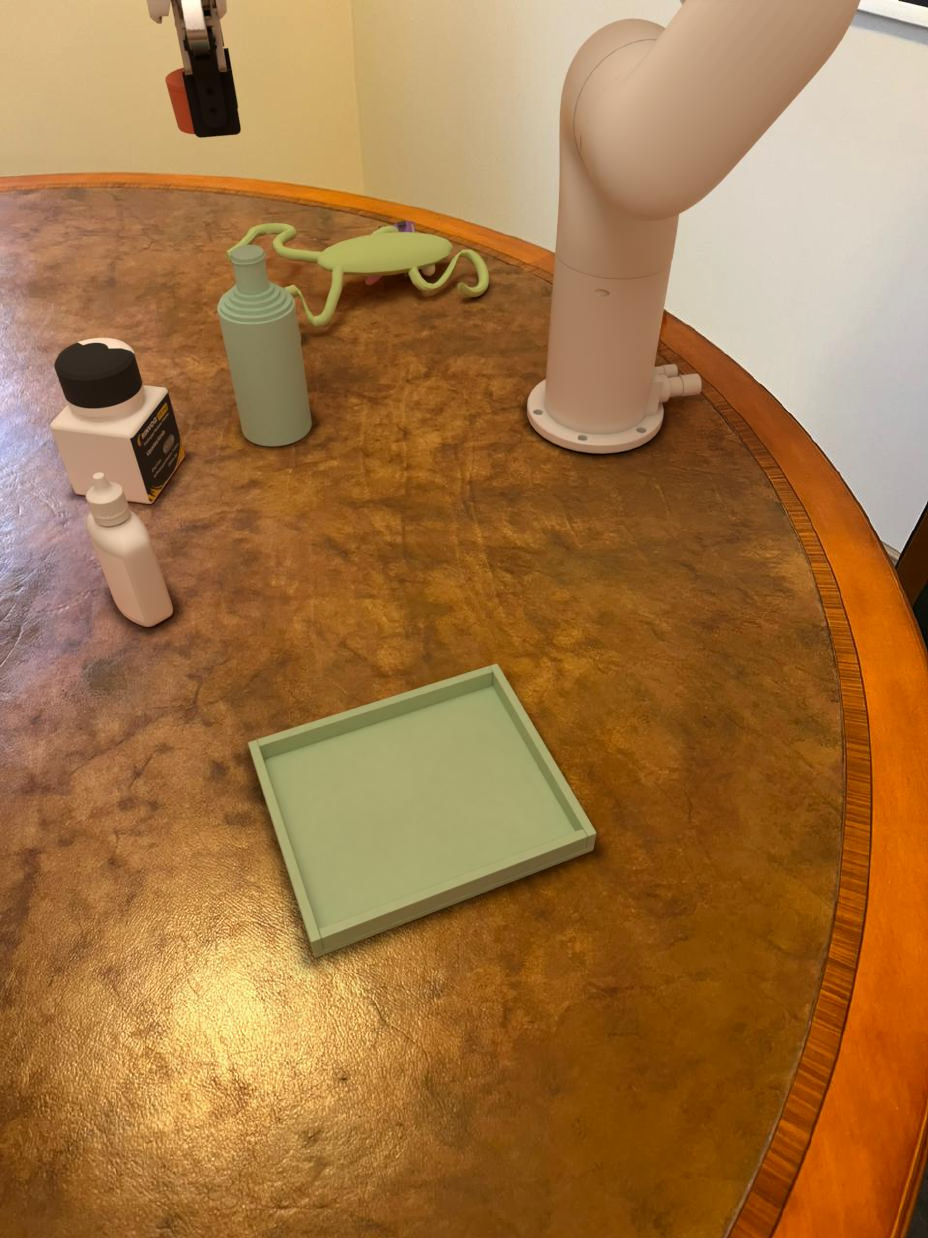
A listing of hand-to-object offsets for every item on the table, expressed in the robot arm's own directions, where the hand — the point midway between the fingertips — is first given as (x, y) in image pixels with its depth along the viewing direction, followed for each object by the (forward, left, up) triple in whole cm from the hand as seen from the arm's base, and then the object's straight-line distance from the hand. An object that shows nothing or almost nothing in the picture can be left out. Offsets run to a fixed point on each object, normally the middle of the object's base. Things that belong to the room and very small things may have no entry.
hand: (217, 120), depth 66 cm
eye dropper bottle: (+11, +21, -26) cm, 35 cm away
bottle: (-1, 0, -26) cm, 26 cm away
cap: (+1, 0, 0) cm, 1 cm away
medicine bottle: (+12, +4, -26) cm, 30 cm away
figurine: (-12, -26, -26) cm, 39 cm away
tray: (-6, +42, -26) cm, 50 cm away
